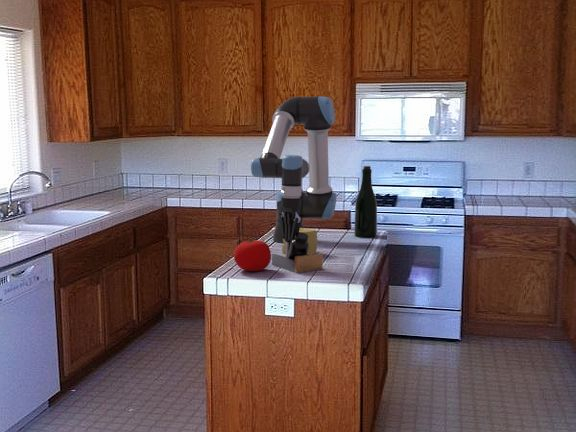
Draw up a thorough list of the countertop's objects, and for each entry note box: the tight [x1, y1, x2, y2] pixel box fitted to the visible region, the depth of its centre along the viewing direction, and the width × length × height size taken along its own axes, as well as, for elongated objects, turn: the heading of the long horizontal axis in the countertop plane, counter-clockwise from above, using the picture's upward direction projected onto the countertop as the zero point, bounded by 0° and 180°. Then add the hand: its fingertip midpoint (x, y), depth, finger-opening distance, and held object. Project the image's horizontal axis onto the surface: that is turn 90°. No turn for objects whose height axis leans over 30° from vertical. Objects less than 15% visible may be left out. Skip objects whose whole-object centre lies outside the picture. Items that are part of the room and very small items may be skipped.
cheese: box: [281, 228, 318, 255], centre depth 281 cm, size 10×11×10 cm
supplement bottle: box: [288, 232, 309, 260], centre depth 254 cm, size 7×7×12 cm
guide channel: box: [271, 252, 324, 274], centre depth 256 cm, size 17×11×6 cm, turn 32°
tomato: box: [233, 238, 272, 272], centre depth 250 cm, size 12×14×11 cm
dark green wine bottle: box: [353, 165, 378, 239], centre depth 320 cm, size 10×10×33 cm
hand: (289, 258), depth 259 cm, fingers closed
